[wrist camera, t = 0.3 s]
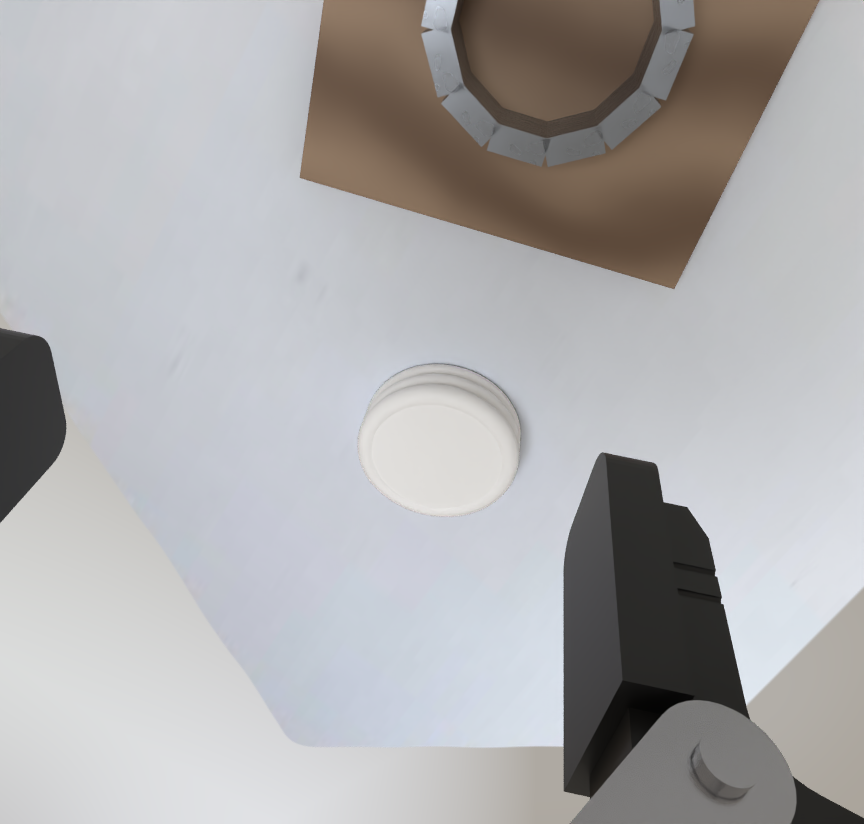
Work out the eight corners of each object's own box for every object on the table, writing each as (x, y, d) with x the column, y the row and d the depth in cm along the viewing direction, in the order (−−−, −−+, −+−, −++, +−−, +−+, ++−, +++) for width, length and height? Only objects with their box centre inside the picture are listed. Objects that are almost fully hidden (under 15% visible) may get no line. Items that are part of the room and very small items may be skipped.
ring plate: (384, -370, 26) (376, -384, 25) (907, -203, 26) (924, -208, 25) (307, 168, 38) (299, 177, 36) (670, 276, 38) (674, 289, 37)
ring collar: (472, -168, 28) (463, -174, 25) (728, -88, 28) (744, -86, 25) (411, 108, 34) (400, 124, 31) (622, 172, 34) (626, 192, 32)
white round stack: (465, 507, 50) (460, 543, 47) (341, 437, 48) (328, 471, 45) (552, 414, 45) (552, 449, 42) (417, 331, 43) (407, 361, 40)
